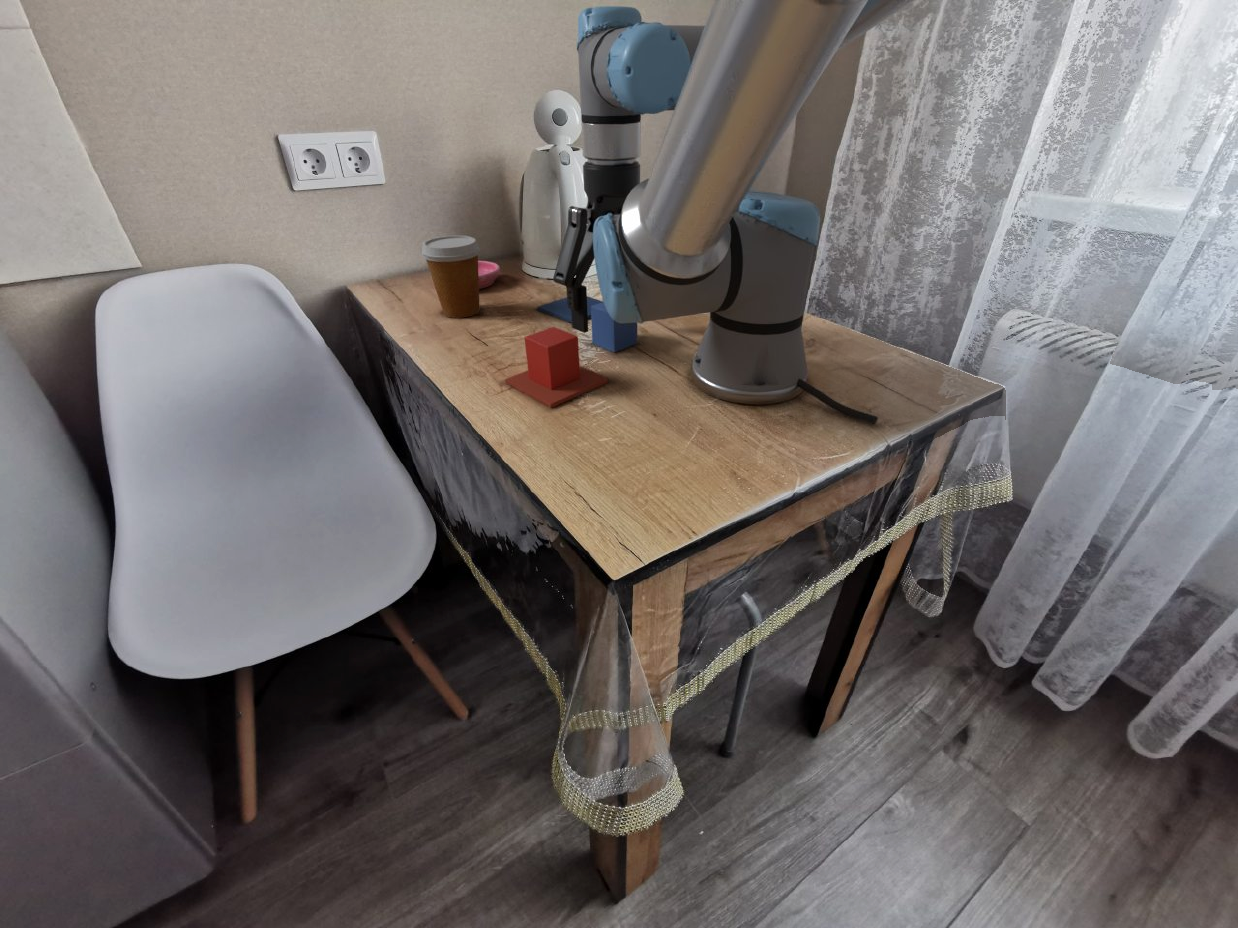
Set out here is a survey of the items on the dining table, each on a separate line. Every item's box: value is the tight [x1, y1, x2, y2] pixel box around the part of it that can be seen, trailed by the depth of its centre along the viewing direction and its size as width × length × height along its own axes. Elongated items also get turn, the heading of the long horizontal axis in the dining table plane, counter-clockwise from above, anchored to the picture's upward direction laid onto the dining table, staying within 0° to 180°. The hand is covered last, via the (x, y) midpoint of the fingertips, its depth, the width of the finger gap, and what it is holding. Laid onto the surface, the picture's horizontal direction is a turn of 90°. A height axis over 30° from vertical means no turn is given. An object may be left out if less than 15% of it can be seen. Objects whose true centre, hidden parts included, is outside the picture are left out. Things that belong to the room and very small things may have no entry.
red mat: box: [504, 365, 609, 409], centre depth 76 cm, size 10×10×1 cm
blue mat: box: [536, 295, 603, 324], centre depth 100 cm, size 10×10×1 cm
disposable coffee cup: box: [421, 235, 481, 319], centre depth 96 cm, size 10×10×12 cm
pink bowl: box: [478, 260, 501, 290], centre depth 112 cm, size 12×12×3 cm
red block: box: [523, 326, 581, 390], centre depth 74 cm, size 5×5×6 cm
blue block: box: [590, 302, 638, 353], centre depth 85 cm, size 5×5×6 cm
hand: (613, 317), depth 85 cm, fingers open, 13 cm apart
